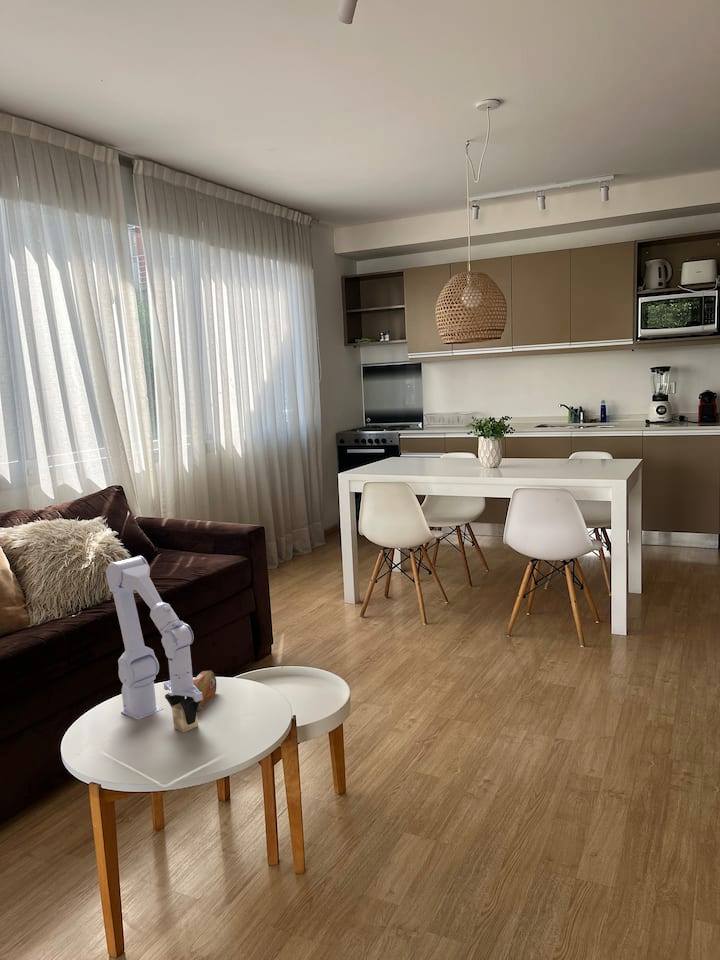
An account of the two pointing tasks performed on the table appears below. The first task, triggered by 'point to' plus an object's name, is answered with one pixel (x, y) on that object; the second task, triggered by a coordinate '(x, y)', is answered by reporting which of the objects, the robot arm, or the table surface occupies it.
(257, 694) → the table surface
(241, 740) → the table surface
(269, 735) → the table surface
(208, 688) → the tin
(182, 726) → the birch block
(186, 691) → the robot arm
